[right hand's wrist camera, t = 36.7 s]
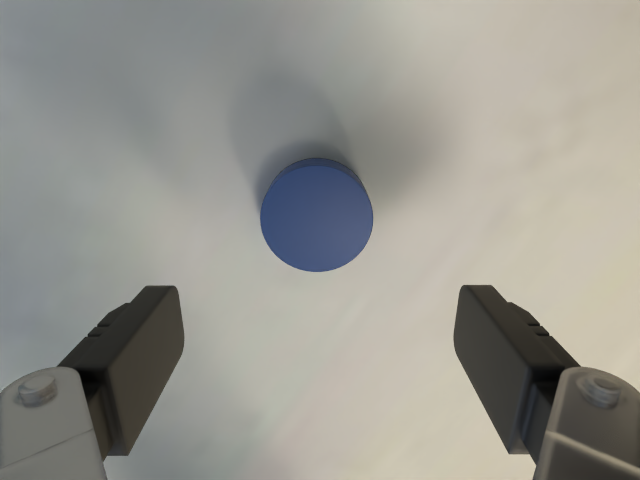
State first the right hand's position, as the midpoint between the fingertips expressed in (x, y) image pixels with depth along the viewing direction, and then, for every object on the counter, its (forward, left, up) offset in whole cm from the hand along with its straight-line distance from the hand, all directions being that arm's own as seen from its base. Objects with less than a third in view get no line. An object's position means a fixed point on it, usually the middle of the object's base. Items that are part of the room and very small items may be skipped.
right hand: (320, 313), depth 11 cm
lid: (0, 0, -7) cm, 7 cm away
